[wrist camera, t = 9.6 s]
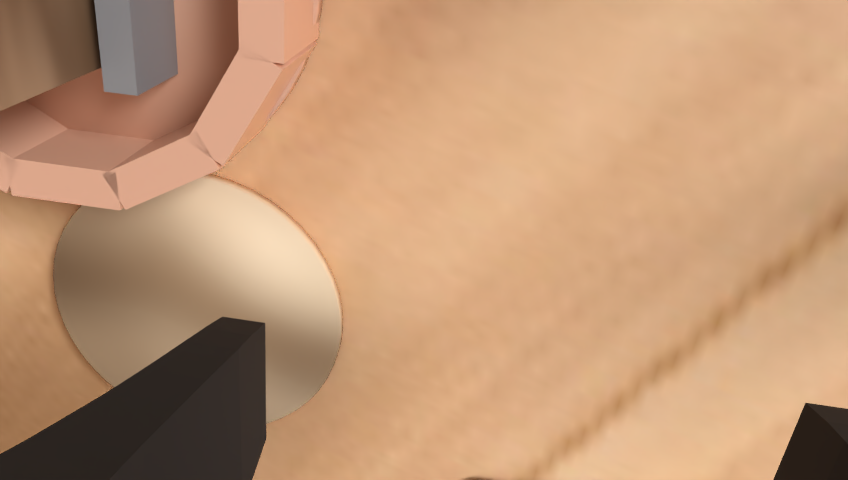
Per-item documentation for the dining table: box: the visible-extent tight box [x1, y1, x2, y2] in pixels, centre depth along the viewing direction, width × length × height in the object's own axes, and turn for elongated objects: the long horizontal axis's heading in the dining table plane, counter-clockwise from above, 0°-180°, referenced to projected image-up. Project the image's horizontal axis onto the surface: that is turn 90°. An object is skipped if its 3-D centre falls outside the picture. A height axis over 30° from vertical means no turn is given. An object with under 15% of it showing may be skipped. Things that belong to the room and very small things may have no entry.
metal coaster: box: [53, 174, 343, 424], centre depth 22 cm, size 9×9×1 cm
